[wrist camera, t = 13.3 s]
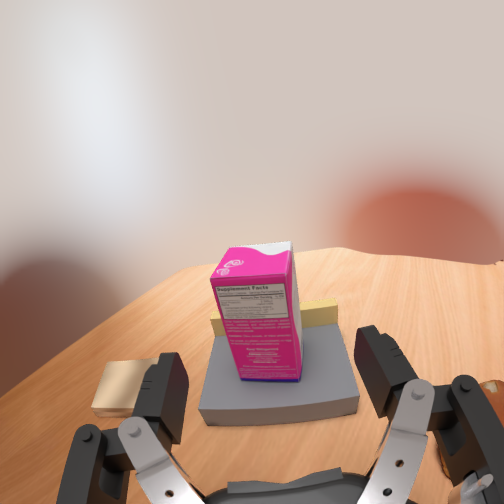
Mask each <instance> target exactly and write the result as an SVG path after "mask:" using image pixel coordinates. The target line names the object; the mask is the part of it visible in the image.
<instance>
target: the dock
mask: <svg viewBox="0 0 504 504" xmlns="http://www.w3.org/2000/svg"><path fill="white" fill-rule="evenodd" d="M299 305H300V314H301V324H302V334H303V341H304V348H303V363H302V373H301V379H300V382H271V381H244V380H240V377H239V374H238V371H237V368H236V365H235V361H234V358H233V355H232V352H231V349H230V346H229V342H228V339H227V336H226V333H225V329H224V326H223V323H222V320H221V316H220V313H219V311H212V315H211V318H210V320H211V324H212V327H213V330H214V334H215V339H214V344H213V348H212V352H211V356H210V360H209V365H208V369H207V373H206V377H205V382H204V386H203V390H202V395H201V399H200V403H199V408H198V410H199V411H200V413H201V415H202V417H203V419H204V421H205V422H206V424H207V425H208V426H253V425H272V424H285V423H296V422H305V421H313V420H320V419H327V418H333V417H339V416H345V415H350V414H355V413H356V411H357V406H358V402H359V397H360V394H359V391H358V387H357V384H356V380H355V377H354V374H353V370H352V367H351V364H350V360H349V357H348V354H347V351H346V348H345V344H344V341H343V338H342V335H341V332H340V329H339V326H338V304H337V301H336V299H335V298H330V299H323V300H315V301H308V302H300V303H299Z"/></svg>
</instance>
